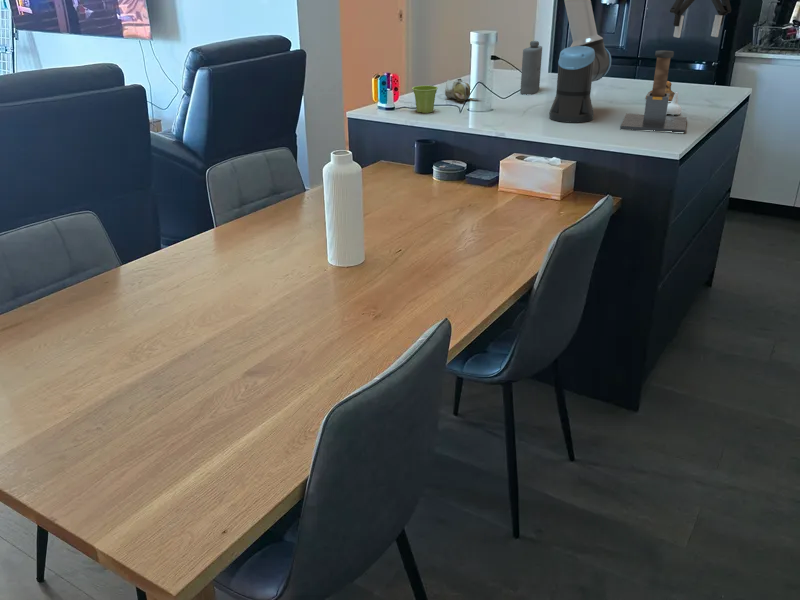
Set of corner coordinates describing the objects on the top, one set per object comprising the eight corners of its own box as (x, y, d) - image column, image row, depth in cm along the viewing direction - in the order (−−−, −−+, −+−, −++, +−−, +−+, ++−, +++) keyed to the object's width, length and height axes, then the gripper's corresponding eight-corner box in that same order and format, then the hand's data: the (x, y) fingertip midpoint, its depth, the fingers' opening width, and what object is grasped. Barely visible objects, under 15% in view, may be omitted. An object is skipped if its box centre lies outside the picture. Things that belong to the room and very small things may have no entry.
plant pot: (416, 115, 254) (416, 90, 250) (409, 110, 263) (409, 86, 259) (440, 113, 257) (441, 89, 253) (433, 108, 265) (433, 84, 261)
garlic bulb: (658, 114, 251) (662, 91, 247) (672, 112, 253) (676, 90, 249) (670, 117, 246) (674, 94, 242) (684, 115, 248) (688, 93, 244)
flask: (532, 95, 285) (536, 43, 276) (518, 94, 287) (522, 43, 278) (542, 89, 297) (545, 39, 288) (528, 88, 299) (532, 39, 290)
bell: (678, 98, 276) (681, 79, 273) (675, 104, 266) (678, 84, 263) (647, 96, 281) (650, 77, 277) (643, 102, 271) (646, 82, 268)
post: (645, 120, 233) (655, 52, 223) (646, 116, 238) (656, 50, 228) (663, 121, 231) (673, 52, 221) (663, 117, 236) (674, 50, 226)
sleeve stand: (620, 129, 230) (624, 98, 226) (625, 116, 247) (629, 87, 242) (684, 133, 224) (689, 102, 219) (685, 120, 240) (691, 91, 236)
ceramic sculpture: (457, 73, 282) (484, 80, 272) (456, 95, 286) (482, 102, 277) (438, 77, 276) (464, 84, 266) (437, 99, 280) (463, 106, 271)
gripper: (680, -36, 210) (666, 38, 220) (753, -35, 215) (736, 37, 225) (667, -37, 217) (654, 35, 227) (738, -37, 221) (722, 34, 231)
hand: (695, 37), depth 226 cm, fingers open, 13 cm apart
